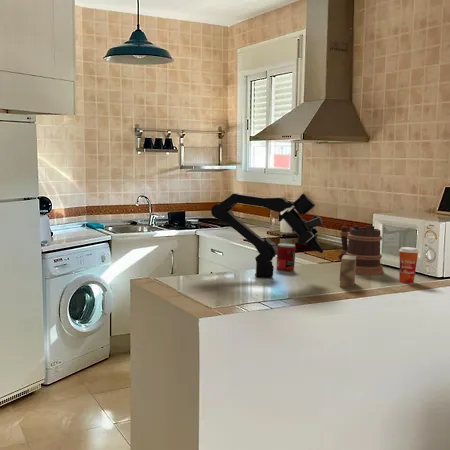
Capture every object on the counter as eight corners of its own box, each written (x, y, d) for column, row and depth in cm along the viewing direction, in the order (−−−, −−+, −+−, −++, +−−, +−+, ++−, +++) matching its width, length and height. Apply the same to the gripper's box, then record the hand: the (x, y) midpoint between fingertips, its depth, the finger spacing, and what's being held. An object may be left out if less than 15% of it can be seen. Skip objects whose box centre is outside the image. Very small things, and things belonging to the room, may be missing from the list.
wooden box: (338, 286, 225) (340, 258, 224) (341, 282, 234) (342, 254, 233) (352, 288, 223) (354, 259, 222) (354, 283, 233) (356, 256, 232)
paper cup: (395, 282, 239) (397, 248, 237) (398, 279, 245) (401, 246, 244) (414, 284, 235) (417, 250, 233) (418, 281, 242) (420, 248, 240)
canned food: (288, 271, 251) (289, 246, 250) (272, 269, 256) (274, 244, 255) (297, 269, 257) (298, 245, 256) (282, 267, 262) (283, 242, 261)
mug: (351, 264, 278) (354, 222, 275) (392, 272, 260) (395, 228, 258) (325, 267, 266) (328, 223, 264) (366, 276, 248) (369, 229, 246)
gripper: (308, 210, 221) (335, 242, 219) (314, 207, 239) (340, 236, 237) (286, 230, 224) (313, 261, 222) (294, 225, 242) (319, 254, 240)
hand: (322, 252), depth 230 cm, fingers closed
